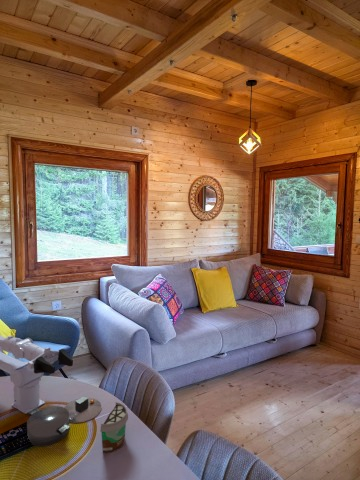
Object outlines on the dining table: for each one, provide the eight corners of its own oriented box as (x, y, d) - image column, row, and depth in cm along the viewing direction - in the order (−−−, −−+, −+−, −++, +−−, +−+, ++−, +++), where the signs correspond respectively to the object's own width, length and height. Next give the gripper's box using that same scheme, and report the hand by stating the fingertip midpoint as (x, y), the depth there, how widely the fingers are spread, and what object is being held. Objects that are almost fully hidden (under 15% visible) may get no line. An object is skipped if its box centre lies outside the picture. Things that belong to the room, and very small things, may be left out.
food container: (119, 459, 95) (119, 428, 94) (100, 456, 96) (100, 425, 96) (133, 431, 107) (133, 403, 106) (116, 428, 108) (116, 401, 108)
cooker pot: (14, 433, 106) (14, 418, 105) (49, 412, 117) (48, 399, 116) (48, 455, 96) (47, 440, 96) (82, 430, 107) (82, 417, 107)
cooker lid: (53, 414, 116) (53, 403, 116) (84, 396, 128) (83, 385, 128) (79, 429, 109) (79, 416, 108) (109, 408, 120) (108, 396, 120)
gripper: (20, 349, 109) (46, 361, 103) (55, 339, 122) (80, 349, 115) (18, 369, 110) (44, 382, 103) (54, 357, 122) (78, 368, 115)
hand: (63, 366), depth 109 cm, fingers open, 7 cm apart
